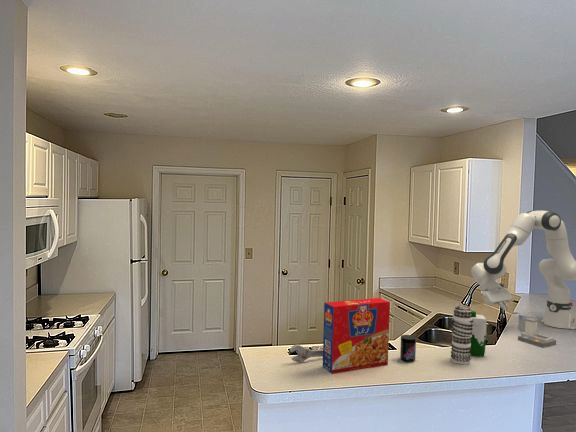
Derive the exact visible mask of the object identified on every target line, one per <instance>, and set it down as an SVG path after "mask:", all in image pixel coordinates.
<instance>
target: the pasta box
mask: <svg viewBox="0 0 576 432" xmlns="http://www.w3.org/2000/svg"><path fill="white" fill-rule="evenodd" d="M323 307H324V308H323V342H322V343H323V346H322V350H323V357H322V368H324V370H326V371H327V372H329V374H331V375H334V374H341V373H342V374H343V373H347V372H352V371H353V372H354V371H359V370H364V369H365V370H366V369H372V368H379V367H384V366H388V365H389V344H390V343H389V342H390V341H389V339H390V313H391V312H390V309H391V302H390V301H388V300H386V299H383V298H380V297H373V298H364V299H362V298H361V299H351V300H350V299H349V300H337V301H328V302H327V301H325V302H324V303H323Z"/></svg>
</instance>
